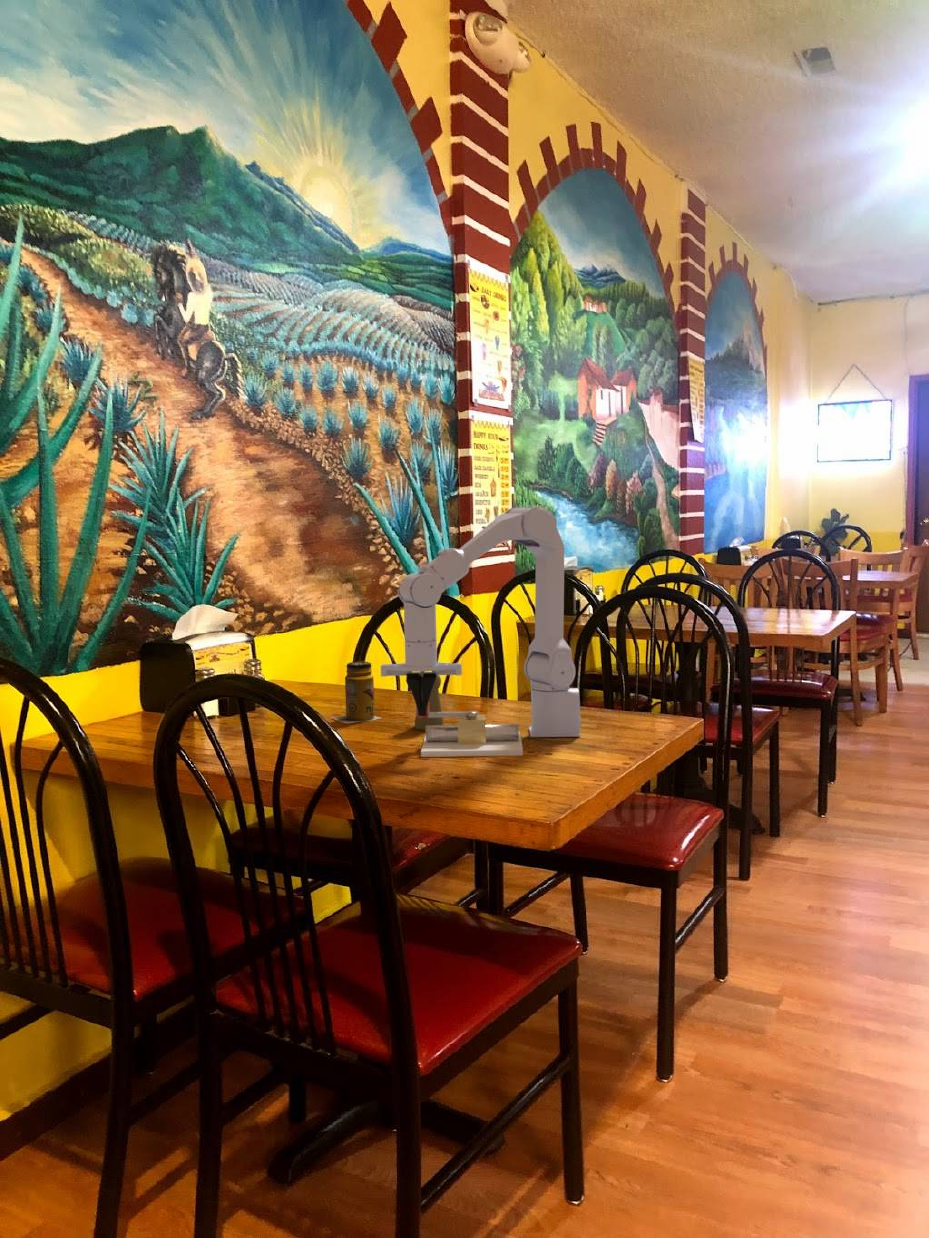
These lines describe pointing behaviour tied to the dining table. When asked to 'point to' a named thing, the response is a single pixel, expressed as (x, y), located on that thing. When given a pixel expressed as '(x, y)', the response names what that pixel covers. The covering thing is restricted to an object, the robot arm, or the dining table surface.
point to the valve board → (472, 749)
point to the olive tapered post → (432, 708)
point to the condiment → (358, 693)
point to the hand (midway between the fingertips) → (422, 714)
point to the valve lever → (447, 714)
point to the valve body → (472, 731)
